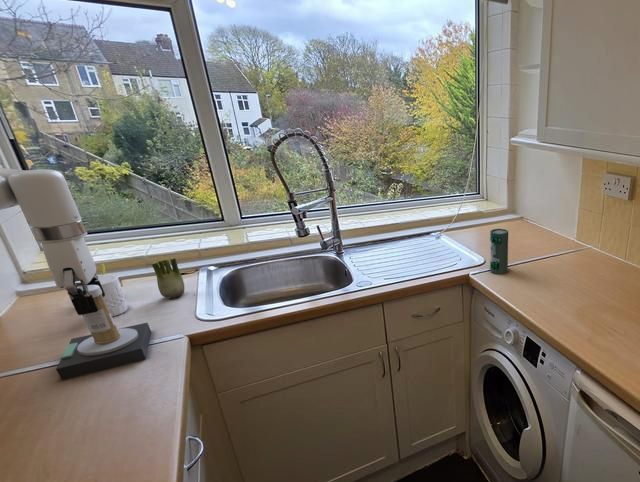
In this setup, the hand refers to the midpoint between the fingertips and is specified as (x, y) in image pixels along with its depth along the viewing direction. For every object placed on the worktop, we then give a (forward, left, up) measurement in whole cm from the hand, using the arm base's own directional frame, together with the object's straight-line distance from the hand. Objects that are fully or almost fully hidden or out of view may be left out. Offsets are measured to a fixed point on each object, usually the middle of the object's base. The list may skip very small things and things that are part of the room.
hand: (92, 304), depth 91 cm
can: (+105, -7, -13) cm, 107 cm away
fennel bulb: (+10, +29, -13) cm, 34 cm away
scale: (-1, 0, -13) cm, 13 cm away
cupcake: (-6, +36, -13) cm, 39 cm away
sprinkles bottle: (0, 0, -10) cm, 10 cm away
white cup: (-4, +26, -13) cm, 29 cm away
